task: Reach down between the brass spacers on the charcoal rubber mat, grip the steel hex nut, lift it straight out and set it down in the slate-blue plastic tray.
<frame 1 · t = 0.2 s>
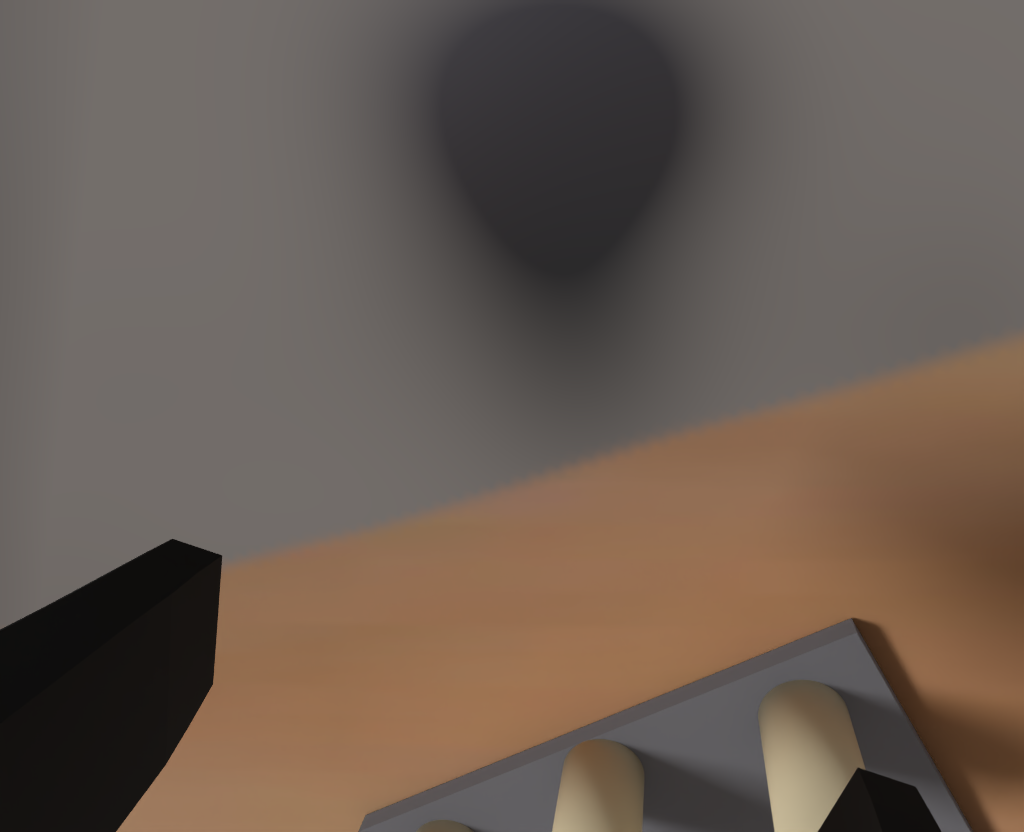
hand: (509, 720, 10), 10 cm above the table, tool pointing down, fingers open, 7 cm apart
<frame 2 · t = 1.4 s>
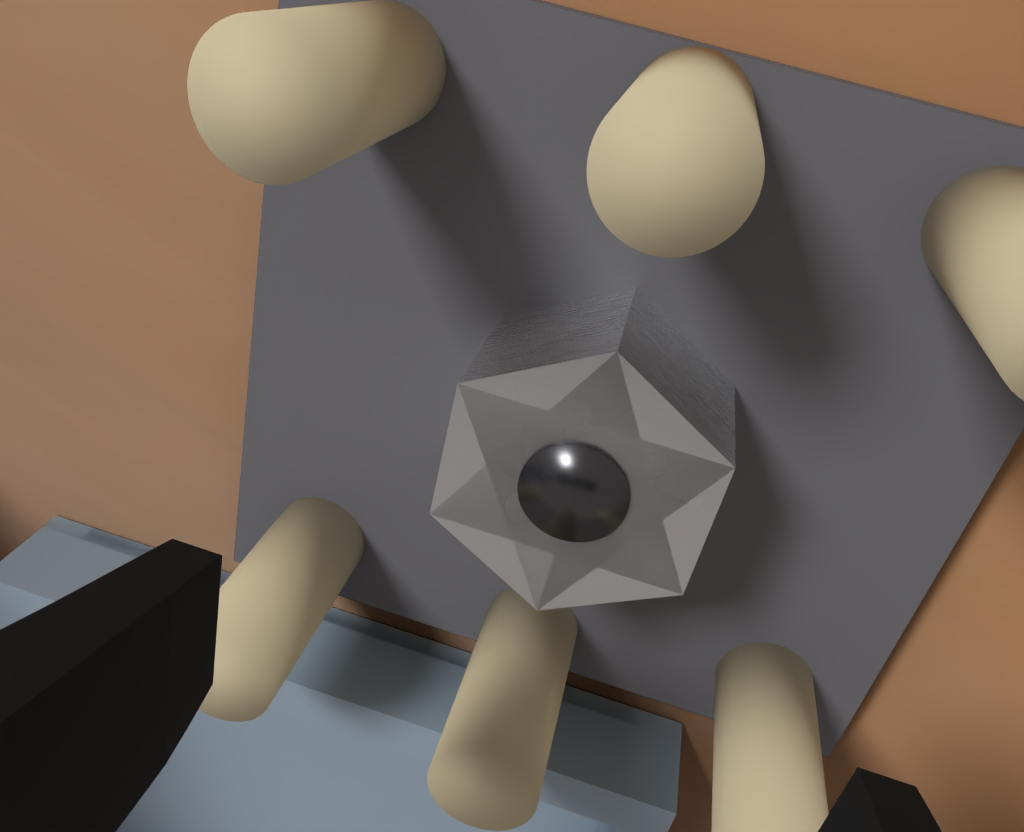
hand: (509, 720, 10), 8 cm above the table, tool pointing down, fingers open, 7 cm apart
spacer field: (602, 396, 17), on the table
tray: (326, 801, 25), on the table
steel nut: (598, 409, 17), point 1 cm above the table, touching spacer field
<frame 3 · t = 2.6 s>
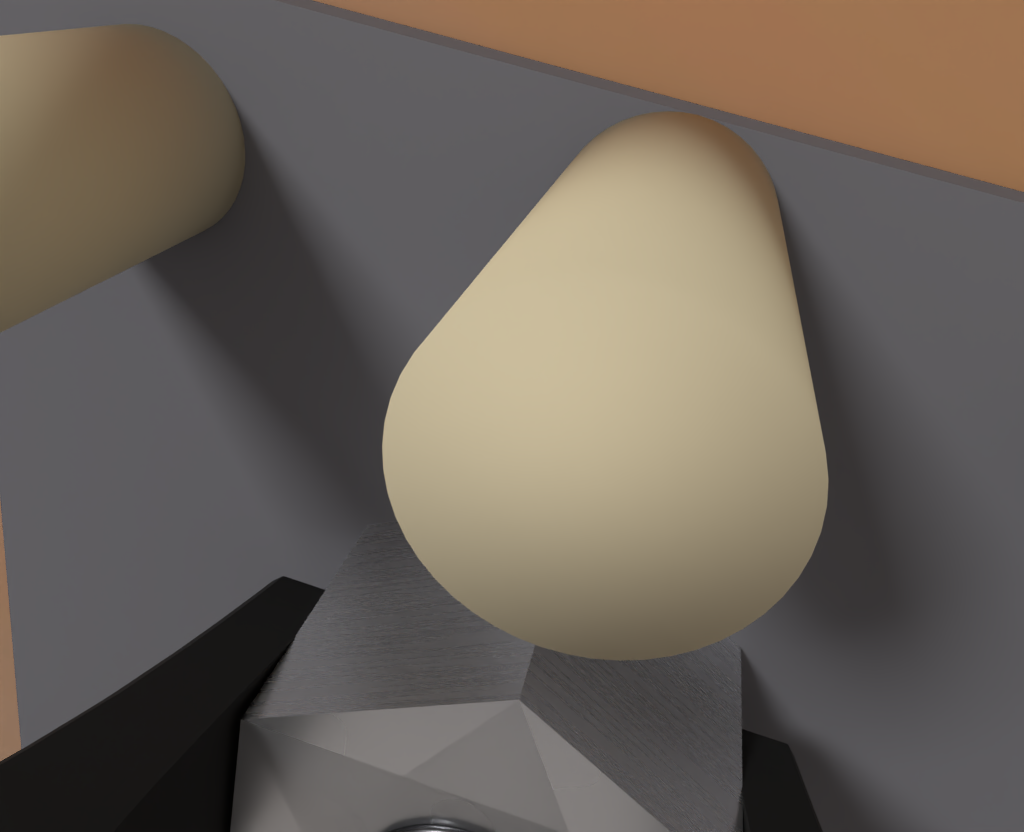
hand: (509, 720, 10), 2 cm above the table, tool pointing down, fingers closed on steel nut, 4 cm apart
spacer field: (535, 631, 11), on the table
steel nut: (525, 664, 11), point 1 cm above the table, touching gripper, spacer field
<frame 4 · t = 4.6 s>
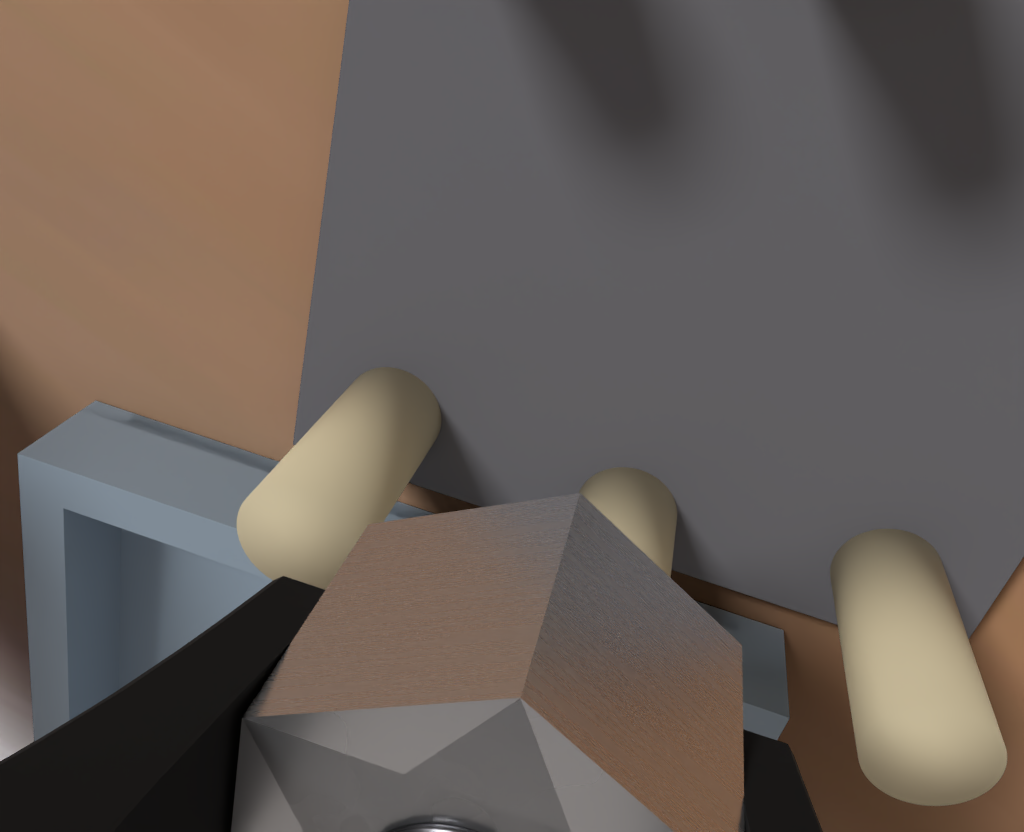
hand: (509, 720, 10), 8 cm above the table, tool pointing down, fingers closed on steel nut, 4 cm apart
spacer field: (721, 242, 15), on the table
tray: (378, 725, 23), on the table
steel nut: (526, 663, 11), point 8 cm above the table, touching gripper
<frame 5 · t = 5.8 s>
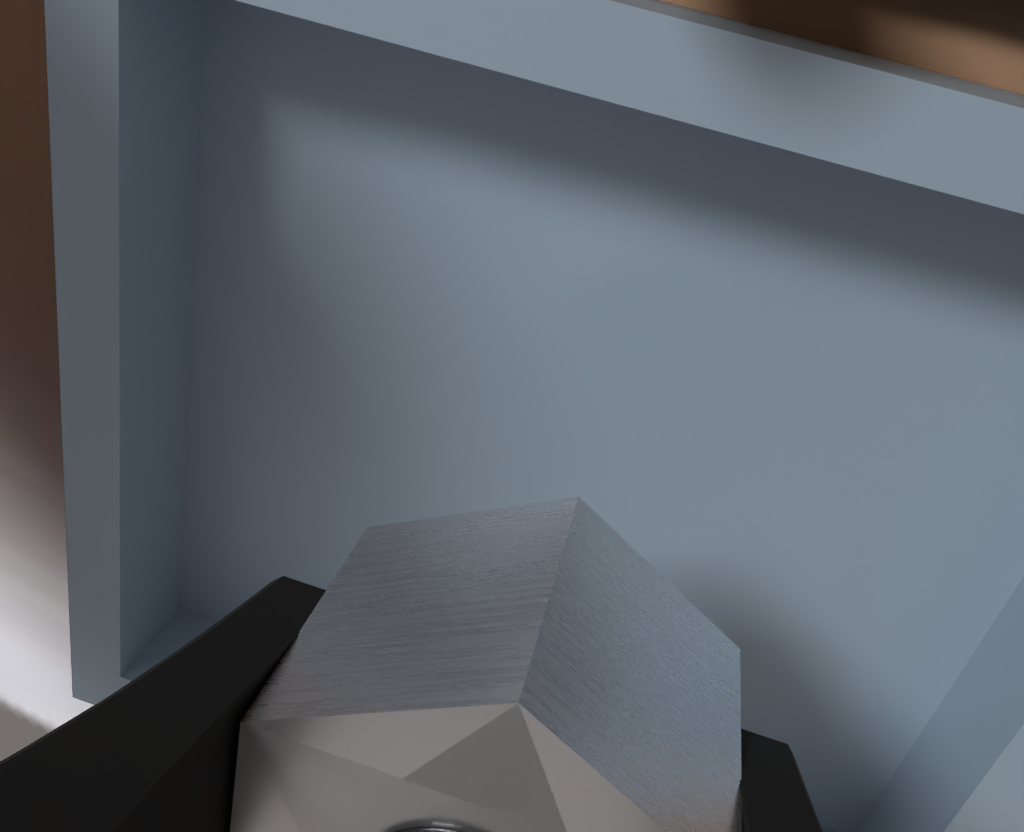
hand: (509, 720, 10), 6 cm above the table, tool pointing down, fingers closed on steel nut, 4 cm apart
tray: (584, 456, 15), on the table
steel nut: (524, 666, 11), point 5 cm above the table, touching gripper
when the fingers open (3 cm above the table, at t = 6.8 s): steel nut drops 1 cm, resting on tray.
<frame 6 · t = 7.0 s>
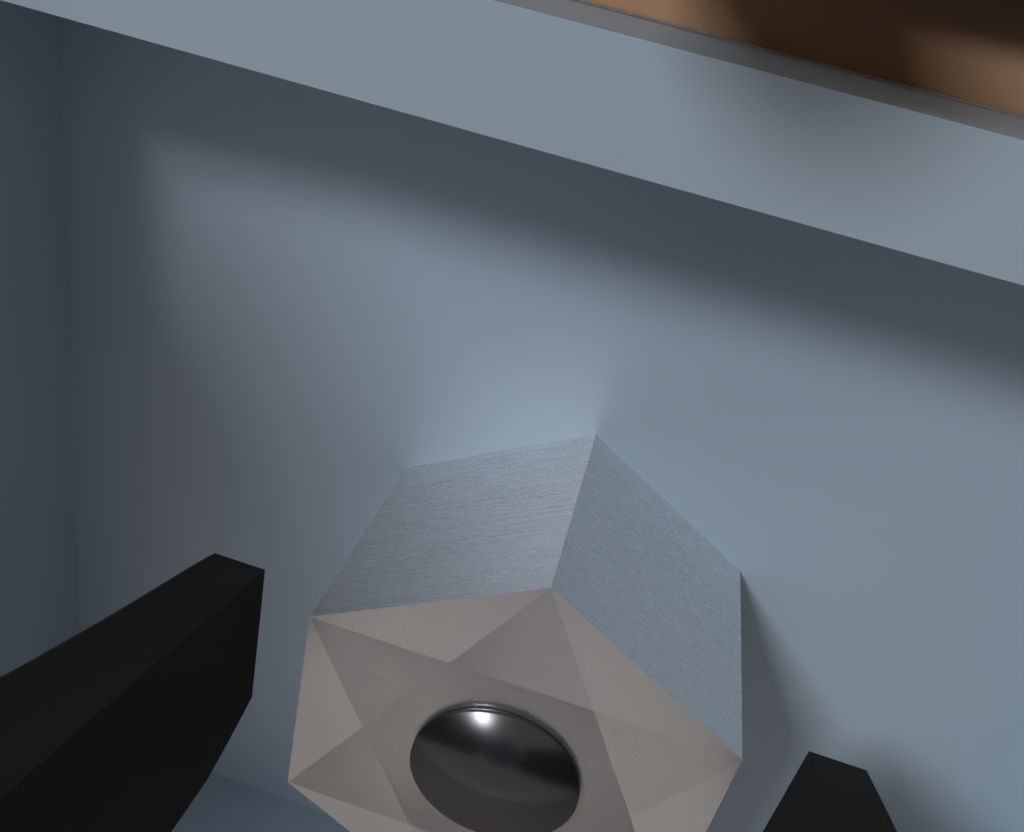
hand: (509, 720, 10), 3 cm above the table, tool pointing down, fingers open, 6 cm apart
tray: (554, 570, 12), on the table
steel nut: (547, 593, 12), resting on tray
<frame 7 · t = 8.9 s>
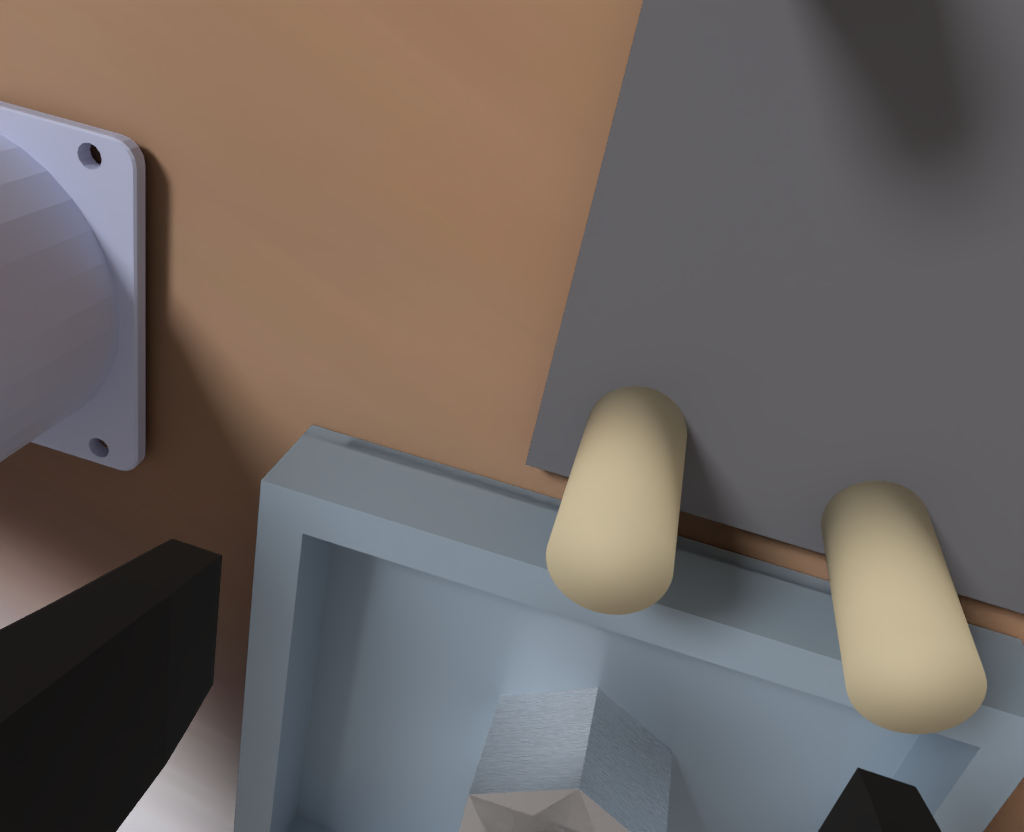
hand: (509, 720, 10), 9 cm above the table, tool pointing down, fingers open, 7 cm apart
spacer field: (996, 254, 15), on the table
tray: (576, 742, 23), on the table
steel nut: (573, 757, 22), resting on tray
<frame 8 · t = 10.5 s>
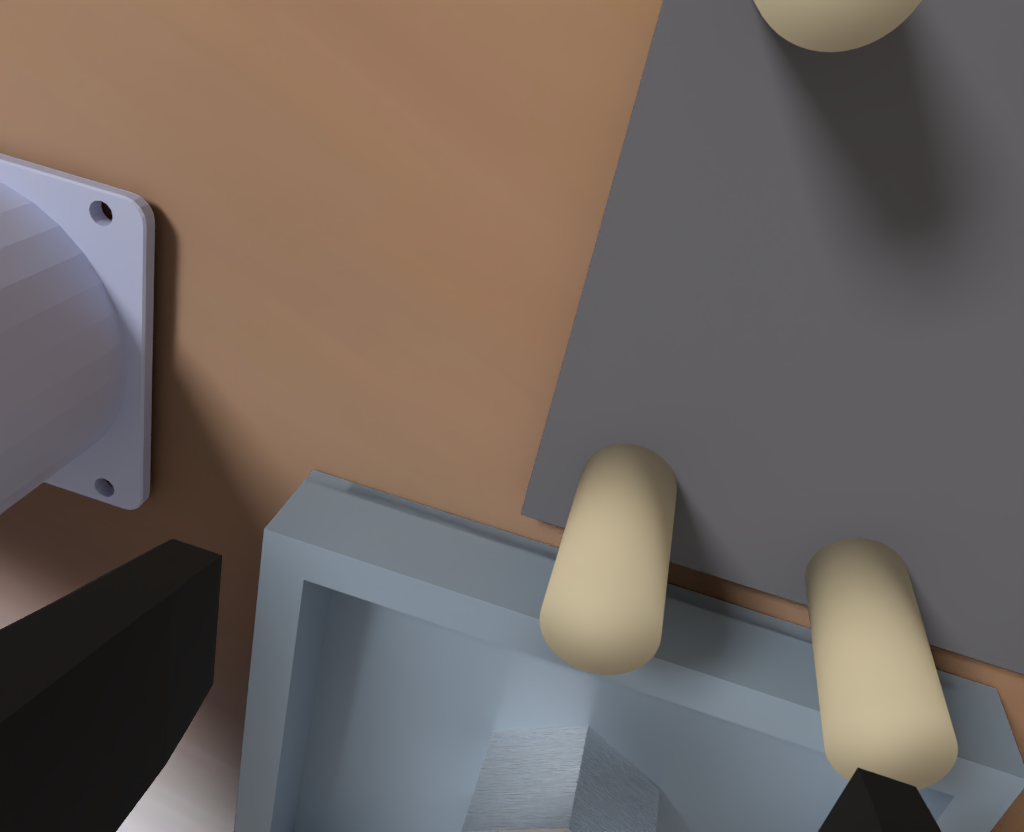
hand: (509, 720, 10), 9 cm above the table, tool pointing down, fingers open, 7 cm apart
spacer field: (975, 329, 16), on the table
tray: (566, 775, 23), on the table
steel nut: (563, 791, 23), resting on tray
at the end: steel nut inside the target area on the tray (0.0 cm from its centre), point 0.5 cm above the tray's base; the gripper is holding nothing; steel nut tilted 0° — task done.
